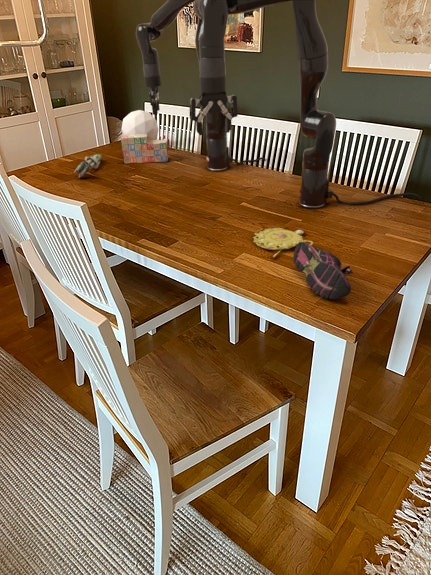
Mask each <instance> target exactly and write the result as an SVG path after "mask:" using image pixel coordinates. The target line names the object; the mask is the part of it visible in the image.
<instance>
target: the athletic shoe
mask: <svg viewBox="0 0 431 575" xmlns="http://www.w3.org/2000/svg"><path fill="white" fill-rule="evenodd" d="M292 261H293V264H294V266H295V267H296V269H298V270H299V271H300V272H302V273H304V274H305V276H306V282H307V285H308V286H309V288H310V289H312V292H313V293H314V294H315V295H317V296H319V297H321V298H324V299H330V300H337V299H341V298H346V297H348V296H349V295H350V294H351V292H352V287H351V284H350V282H349V280H348V278H347V277H346V275H351V274H354V272H353V269H352V268H351V266H350V265H347V266H345V267H343V266H342V265H343V264H342V261H341V260H340V258H339V257H338V256H336V255H334V254H333V253H331V252H329V251H327V250H323V249H321V248H318V247H315V246H313V245H312V246H310V243H308V242H299V243H298V244H297V245H296V246H295V247H294V252H293V256H292ZM342 267H343V268H342Z"/></svg>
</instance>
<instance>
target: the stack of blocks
mask: <svg viewBox="0 0 431 575" xmlns="http://www.w3.org/2000/svg"><path fill="white" fill-rule="evenodd" d="M120 141H121V142H120V143H121V149H122V156H123V162H124V164H141V163H142V164H143V163H168V161H169V151H168V140H167V139H157V140H149V141H148V134H136V135H123V134H122V136H121V137H120Z"/></svg>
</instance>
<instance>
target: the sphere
mask: <svg viewBox="0 0 431 575" xmlns="http://www.w3.org/2000/svg"><path fill="white" fill-rule="evenodd" d="M121 133H122V136H123V135H136V134H148V141H149V140H158V135H159V126H158V121H157V119H156V118H155V117H154V115H153V114H151V113H150V112H148V111H146V110H142V109H137V110H133V111H131V112H129V113H128V114H127V115H126V116H125V117H124V118H123V119H122V123H121Z"/></svg>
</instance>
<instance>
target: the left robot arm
mask: <svg viewBox="0 0 431 575" xmlns="http://www.w3.org/2000/svg"><path fill="white" fill-rule="evenodd" d="M194 1H195V0H166V1H165V2H164V3H163V4H162V6H160V7H159V8H158V9H157V10H156V11H155V12H154V13H153V14H152V15H151V17H150V22H144V23H139V24H138V25H137V26H136V28H135V38H136V41H137V45H138V47H139V50H140V52H141V56H142V57H141V58H142V71H143V80H144V86H145V87H147V88H149V89H150V90H149V91H148V93H149V101H150V102H149V103H150V106H151V110H152V116H157V115H158V112H159V111H160V91H159V90H160V89H159V87H161V86H162V76H161V75H162V74H161V67H160V61H159V53H158V49H157V48H155V47H152V44H151V43H152V42H155V41H157V40H158V39H160V38H161V36H162V35H163V33H164V31H165V30H166V29H167V28H168V27H170V26H171V24H173V23H174V22H175V20H176V19H177V18H178V16H179V14H180V13H181V11H182V10H183V9H184V8H185V7H187V6H188V5H190V4H192V3H194ZM203 28H204V21H203V20H201V19H200V18H198V17H197V25H196V31H195V35H194V36H195V38H194V44H195V50H196V56H197V61H198V63H199V61H200V55H199V37H200V35H201V34H202V33H203ZM225 107H226V109H227V110H228V108H229V106H228V101H227V102H226V104H225ZM228 111H229V110H228ZM205 117H206V121H205V122H206V124H205V128H206V129H205V134H206V157H205V158H206V161H207V163H206V165H207V166H206V167H207V170H208V171H212V172H223V171H226V170H227V169H229V168H230V164H233V162H234V163H235V164H236V165H239V166H240V165H242V164H244V163H255V162H258V161H260V160H262V161H267V159H266V158H265V157H258V158H256V159H244V160H242V161H240V162H238V160H237V159H235V158H233V157H232V156H230V148H229V146H228V133H227V132H226V131H225V119H226V116H225V115H224V114H223V113H222V111H220V112H213V113H208V112H207V114H206V116H205Z"/></svg>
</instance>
